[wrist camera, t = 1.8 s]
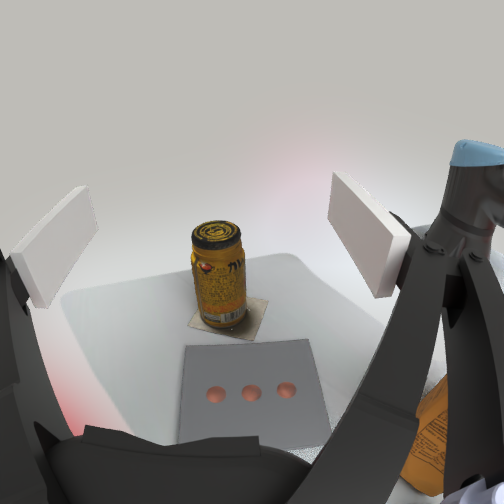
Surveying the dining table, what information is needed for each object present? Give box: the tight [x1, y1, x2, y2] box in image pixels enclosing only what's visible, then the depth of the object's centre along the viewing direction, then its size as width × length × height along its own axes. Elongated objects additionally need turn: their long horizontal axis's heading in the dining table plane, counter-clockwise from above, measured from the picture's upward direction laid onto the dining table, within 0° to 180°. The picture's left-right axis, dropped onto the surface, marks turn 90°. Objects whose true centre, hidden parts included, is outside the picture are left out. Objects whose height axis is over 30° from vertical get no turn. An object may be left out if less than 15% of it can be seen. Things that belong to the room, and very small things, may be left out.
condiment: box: [188, 221, 268, 341], centre depth 33 cm, size 7×8×12 cm
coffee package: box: [400, 374, 448, 497], centre depth 13 cm, size 10×12×22 cm
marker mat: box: [179, 339, 332, 451], centre depth 26 cm, size 14×13×1 cm
